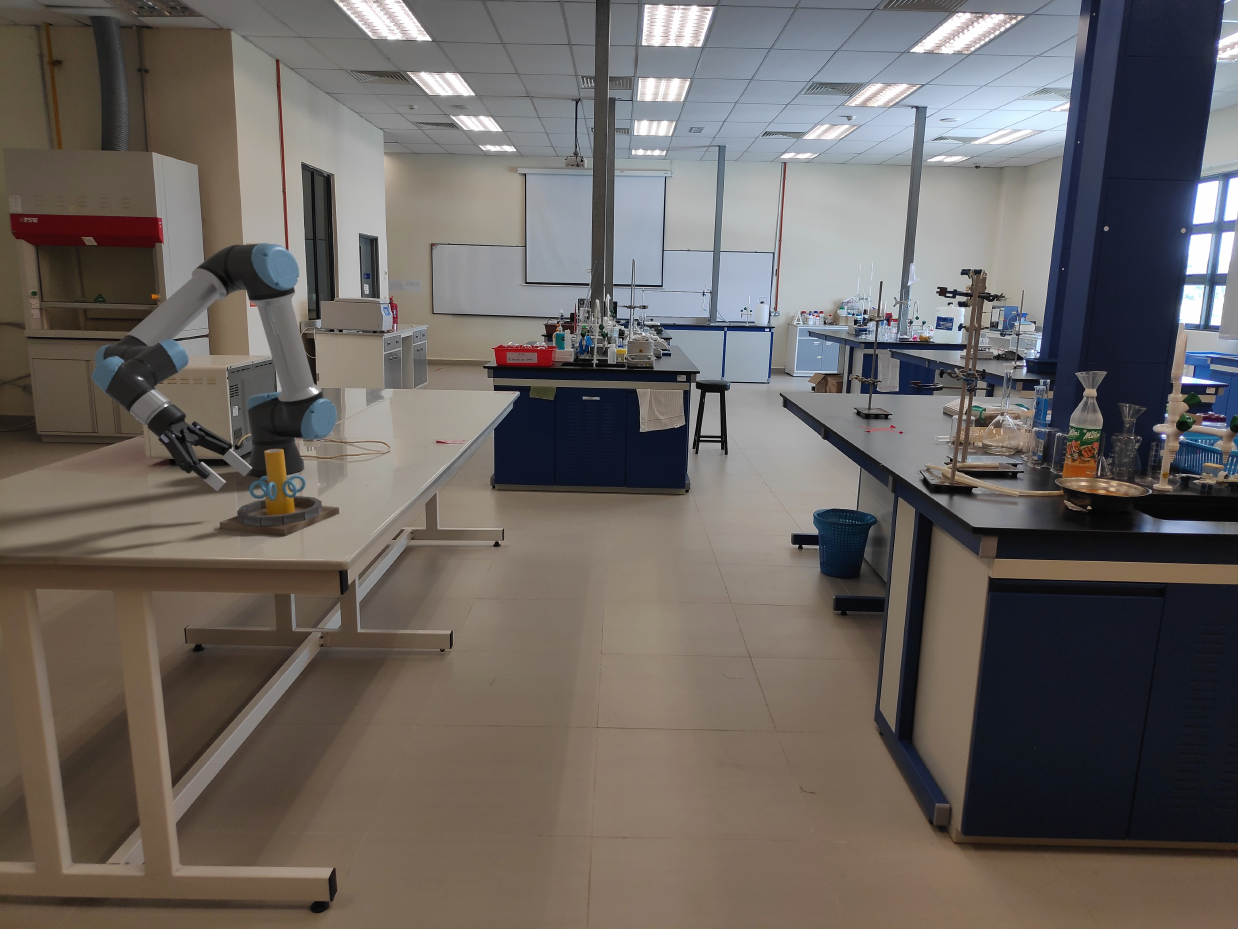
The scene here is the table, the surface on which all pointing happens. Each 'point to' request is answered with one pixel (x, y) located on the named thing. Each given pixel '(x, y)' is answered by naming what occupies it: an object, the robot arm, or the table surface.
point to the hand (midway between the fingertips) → (235, 479)
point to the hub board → (279, 527)
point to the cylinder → (277, 485)
